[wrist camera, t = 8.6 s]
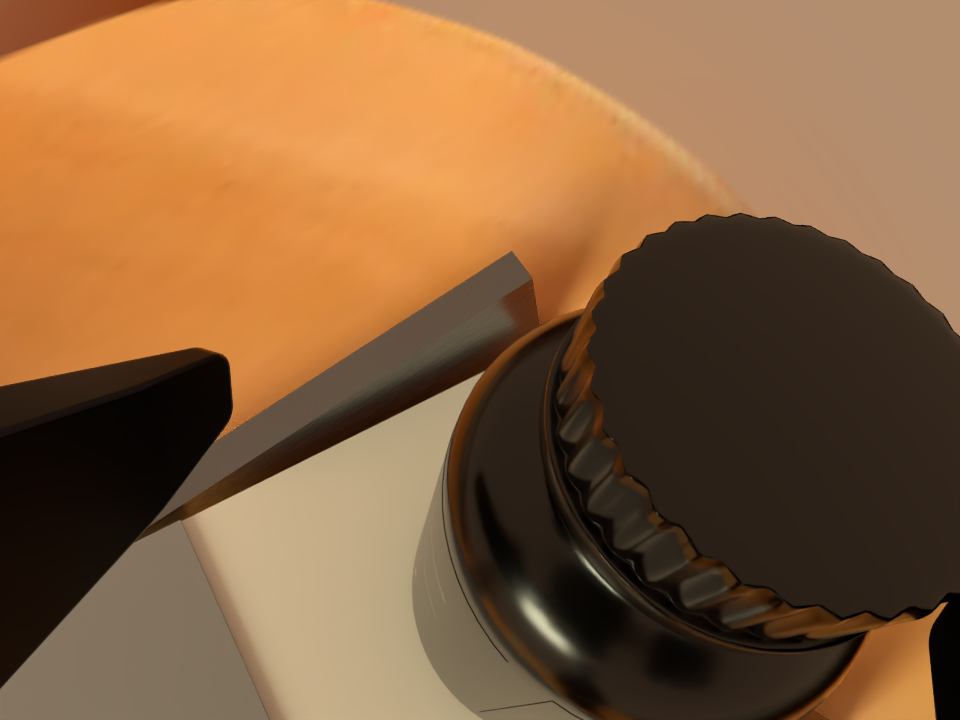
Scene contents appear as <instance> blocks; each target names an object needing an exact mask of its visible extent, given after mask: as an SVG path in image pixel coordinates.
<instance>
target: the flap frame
mask: <svg viewBox="0 0 960 720" xmlns="http://www.w3.org/2000/svg"><path fill="white" fill-rule="evenodd" d="M538 326H539V320H538V313H537V306H536V300H535V293H534V286H533V280H532V277H531V276H530V275H529V273H528V272H527V271H526V269H525V268H524V267H523V265H522V264H521V263H520V261H519V260H518V258H517V257H516V256H515V254H514V253H513V252H512V251H511V252H509V253H508V254H506V255H505V256H503V257H502V258H500V259H498V260H497V261H495V262H494V263H492V264H491V265H489V266H488V267H486V268H484V269H483V270H481V271H480V272H478V273H477V274H475V275H474V276H472V277H470V278H469V279H467V280H466V281H464V282H463V283H461V284H460V285H458V286H457V287H455V288H453V289H452V290H450V291H449V292H447V293H446V294H444V295H443V296H441V297H439V298H438V299H436V300H435V301H433V302H432V303H430V304H429V305H427V306H425V307H424V308H422V309H421V310H419V311H418V312H416V313H415V314H413V315H411V316H410V317H408V318H407V319H405V320H404V321H402V322H401V323H399V324H397V325H396V326H394V327H393V328H391V329H390V330H388V331H387V332H385V333H383V334H382V335H380V336H379V337H377V338H376V339H374V340H373V341H371V342H369V343H368V344H366V345H365V346H363V347H362V348H360V349H359V350H357V351H355V352H354V353H352V354H351V355H349V356H348V357H346V358H345V359H343V360H341V361H340V362H338V363H337V364H335V365H334V366H332V367H331V368H329V369H328V370H326V371H324V372H323V373H321V374H320V375H318V376H317V377H315V378H314V379H312V380H310V381H309V382H307V383H306V384H304V385H303V386H301V387H300V388H298V389H296V390H295V391H293V392H292V393H290V394H289V395H287V396H286V397H284V398H282V399H281V400H279V401H278V402H276V403H275V404H273V405H272V406H270V407H268V408H267V409H265V410H264V411H262V412H261V413H259V414H258V415H256V416H254V417H253V418H251V419H250V420H248V421H247V422H245V423H244V424H242V425H240V426H239V427H237V428H236V429H234V430H233V431H231V432H230V433H228V434H226V435H225V436H223V437H222V438H220V439H219V440H217V441H216V442H214V443H213V444H212V445H211V447H210V448H209V449H208V451H207V452H206V454H205V455H204V456H203V458H202V459H201V460H200V462H199V463H198V464H197V466H196V467H195V468H194V470H193V471H192V472H191V474H190V475H189V476H188V478H187V479H186V480H185V482H184V483H183V485H182V486H181V487H180V489H179V490H178V491H177V493H176V494H175V495H174V497H173V498H172V499H171V500H170V502H169V503H168V504H167V505H166V507H165V508H164V509H163V510H162V512H161V513H160V514H159V515H158V516H157V517H156V519H155V520H154V521H153V522H152V523H151V524H150V525H149V527H148V528H147V529H146V530H145V531H144V532H143V533H142V534H141V535H140V536H139V538H138V539H137V540H136V541H138V540H140V539H142V538H144V537H146V536H148V535H151V534H153V533H155V532H157V531H159V530H161V529H163V528H165V527H167V526H169V525H171V524H173V523H175V522H177V521H179V520H181V521H183V520H185V519H187V518H189V517H191V516H193V515H195V514H197V513H199V512H201V511H203V510H206V509H208V508H210V507H212V506H214V505H216V504H218V503H220V502H222V501H224V500H226V499H228V498H230V497H232V496H234V495H236V494H238V493H240V492H242V491H244V490H246V489H248V488H250V487H252V486H254V485H256V484H258V483H260V482H262V481H264V480H266V479H268V478H270V477H272V476H274V475H276V474H278V473H280V472H282V471H284V470H286V469H288V468H290V467H292V466H294V465H296V464H298V463H300V462H302V461H304V460H306V459H308V458H310V457H312V456H314V455H316V454H318V453H320V452H323V451H325V450H327V449H329V448H331V447H333V446H335V445H337V444H339V443H341V442H343V441H345V440H347V439H349V438H351V437H353V436H355V435H357V434H359V433H361V432H363V431H365V430H367V429H369V428H371V427H373V426H375V425H377V424H379V423H381V422H383V421H385V420H387V419H389V418H391V417H393V416H395V415H397V414H399V413H401V412H403V411H405V410H407V409H409V408H411V407H413V406H415V405H417V404H419V403H421V402H423V401H425V400H427V399H429V398H431V397H433V396H435V395H437V394H440V393H442V392H444V391H446V390H448V389H450V388H452V387H454V386H456V385H458V384H460V383H462V382H464V381H466V380H468V379H470V378H472V377H474V376H476V375H478V374H480V373H482V372H484V371H485V370H486V369H487V368H488V367H489V366H490V365H491V363H492V362H493V361H494V360H495V359H496V358H497V357H498V356H499V355H500V354H501V353H502V352H503V351H504V350H506V349H507V348H508V347H509V346H510V345H511V344H512V343H513V342H515V341H516V340H518V339H519V338H520V337H522V336H523V335H524V334H526V333H527V332H529V331H531V330H533V329H534V328H536V327H538ZM136 541H135V542H136ZM799 720H829V719H827V718H825V717H824V716H822V715H820V714H819V713H817V712H815V711H814V710H812V711H811V712H809V713H808V714H806V715H805V716H803V717H802V718H800V719H799Z"/></svg>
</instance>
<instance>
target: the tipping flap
mask: <svg viewBox="0 0 960 720" xmlns="http://www.w3.org/2000/svg"><path fill="white" fill-rule="evenodd" d="M484 372H485V371H484ZM484 372H482V373H480V374H478V375H476V376H474V377H472V378H470V379H468V380H466V381H464V382H462V383H460V384H458V385H456V386H454V387H452V388H450V389H448V390H446V391H444V392H442V393H440V394H437V395H435V396H433V397H431V398H429V399H427V400H425V401H423V402H421V403H419V404H417V405H415V406H413V407H411V408H409V409H407V410H405V411H403V412H401V413H399V414H397V415H395V416H393V417H391V418H389V419H387V420H385V421H383V422H381V423H379V424H377V425H375V426H373V427H371V428H369V429H367V430H365V431H363V432H361V433H359V434H357V435H355V436H353V437H351V438H349V439H347V440H345V441H343V442H341V443H339V444H337V445H335V446H333V447H331V448H329V449H327V450H325V451H323V452H320V453H318V454H316V455H314V456H312V457H310V458H308V459H306V460H304V461H302V462H300V463H298V464H296V465H294V466H292V467H290V468H288V469H286V470H284V471H282V472H280V473H278V474H276V475H274V476H272V477H270V478H268V479H266V480H264V481H262V482H260V483H258V484H256V485H254V486H252V487H250V488H248V489H246V490H244V491H242V492H240V493H238V494H236V495H234V496H232V497H230V498H228V499H226V500H224V501H222V502H220V503H218V504H216V505H214V506H212V507H210V508H208V509H206V510H203V511H201V512H199V513H197V514H195V515H193V516H191V517H189V518H187V519H185V520H183V521H181V520H179V521H177V522H175V523H173V524H171V525H169V526H167V527H165V528H163V529H161V530H159V531H157V532H155V533H153V534H151V535H148V536H146V537H144V538H142V539H140V540H138V541H136V542H134V543H133V544H132V545H131V546H130V547H129V548H128V550H127V551H126V552H125V553H124V554H123V555H122V556H121V557H120V558H119V559H118V561H117V562H116V563H115V564H114V565H113V566H112V567H111V568H110V569H109V570H108V572H107V573H106V574H105V575H104V576H103V577H102V578H101V579H100V580H99V581H98V583H97V584H96V585H95V586H94V587H93V588H92V589H91V590H90V591H89V592H88V594H87V595H86V596H85V597H84V598H83V599H82V600H81V601H80V602H79V603H78V605H77V606H76V607H75V608H74V609H73V610H72V611H71V612H70V613H69V614H68V615H67V617H66V618H65V619H64V620H63V621H62V622H61V623H60V624H59V625H58V626H57V628H56V629H55V630H54V631H53V632H52V633H51V634H50V635H49V636H48V637H47V639H46V640H45V641H44V642H43V643H42V644H41V645H40V646H39V647H38V648H37V650H36V651H35V652H34V653H33V654H32V655H31V656H30V657H29V658H28V659H27V661H26V662H25V663H24V664H23V665H22V666H21V667H20V668H19V669H18V670H17V672H16V673H15V674H14V675H13V676H12V677H11V678H10V679H9V680H8V681H7V683H6V684H5V685H4V686H3V687H2V688H1V689H0V720H483V719H481V718H480V717H478V716H477V715H475V714H474V713H473V712H471V711H470V710H469V709H468V708H466V707H465V706H464V705H463V704H462V703H461V702H459V700H458V699H457V698H456V697H455V696H454V695H453V694H452V693H451V692H450V691H449V690H448V688H447V687H446V686H445V685H444V683H443V682H442V681H441V679H440V678H439V676H438V675H437V673H436V672H435V670H434V668H433V667H432V665H431V663H430V661H429V659H428V657H427V655H426V653H425V651H424V648H423V645H422V643H421V640H420V637H419V634H418V630H417V627H416V622H415V617H414V611H413V601H412V577H413V567H414V562H415V557H416V552H417V547H418V543H419V540H420V537H421V533H422V530H423V527H424V523H425V520H426V517H427V514H428V510H429V507H430V504H431V500H432V497H433V494H434V491H435V487H436V484H437V481H438V477H439V474H440V471H441V467H442V464H443V461H444V458H445V454H446V451H447V448H448V444H449V441H450V438H451V435H452V432H453V429H454V427H455V424H456V422H457V420H458V417H459V415H460V413H461V410H462V408H463V406H464V404H465V402H466V400H467V398H468V396H469V395H470V393H471V391H472V389H473V387H474V386H475V384H476V383H477V381H478V380H479V379H480V377H481V376H482V374H483V373H484Z"/></svg>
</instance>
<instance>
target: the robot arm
mask: <svg viewBox="0 0 960 720" xmlns="http://www.w3.org/2000/svg"><path fill="white" fill-rule="evenodd" d="M232 410H233V400H232V388H231V375H230V365H229V362H228V360H227V358H226V357H225V356H224V355H223V354H220V353H217V352H213V351H210V350H206V349H203V348H190V349H185V350H180V351H175V352H170V353H165V354H160V355H155V356H150V357H145V358H140V359H135V360H130V361H125V362H120V363H115V364H110V365H105V366H100V367H95V368H90V369H85V370H80V371H75V372H70V373H65V374H60V375H55V376H50V377H45V378H40V379H35V380H30V381H25V382H20V383H15V384H10V385H5V386H0V689H1V688H2V687H3V686H4V685H5V684H6V683H7V681H8V680H9V679H10V678H11V677H12V676H13V675H14V674H15V673H16V672H17V670H18V669H19V668H20V667H21V666H22V665H23V664H24V663H25V662H26V661H27V659H28V658H29V657H30V656H31V655H32V654H33V653H34V652H35V651H36V650H37V648H38V647H39V646H40V645H41V644H42V643H43V642H44V641H45V640H46V639H47V637H48V636H49V635H50V634H51V633H52V632H53V631H54V630H55V629H56V628H57V626H58V625H59V624H60V623H61V622H62V621H63V620H64V619H65V618H66V617H67V615H68V614H69V613H70V612H71V611H72V610H73V609H74V608H75V607H76V606H77V605H78V603H79V602H80V601H81V600H82V599H83V598H84V597H85V596H86V595H87V594H88V592H89V591H90V590H91V589H92V588H93V587H94V586H95V585H96V584H97V583H98V581H99V580H100V579H101V578H102V577H103V576H104V575H105V574H106V573H107V572H108V570H109V569H110V568H111V567H112V566H113V565H114V564H115V563H116V562H117V561H118V559H119V558H120V557H121V556H122V555H123V554H124V553H125V552H126V551H127V550H128V548H129V547H130V546H131V545H132V544H133V543H134V542H135V541H136V540H137V539H138V538H139V536H140V535H141V534H142V533H143V532H144V531H145V530H146V529H147V528H148V527H149V525H150V524H151V523H152V522H153V521H154V520H155V519H156V517H157V516H158V515H159V514H160V513H161V512H162V510H163V509H164V508H165V507H166V505H167V504H168V503H169V502H170V500H171V499H172V498H173V497H174V495H175V494H176V493H177V491H178V490H179V489H180V487H181V486H182V485H183V483H184V482H185V480H186V479H187V478H188V476H189V475H190V474H191V472H192V471H193V470H194V468H195V467H196V466H197V464H198V463H199V462H200V460H201V459H202V458H203V456H204V455H205V454H206V452H207V451H208V449H209V448H210V447H211V445H212V444H213V443H214V441H215V440H216V439H217V437H218V436H219V435H220V433H221V432H222V431H223V429H224V428H225V427H226V425H227V423H228V422H229V420H230V418H231V414H232ZM929 653H930V664H931V674H932V685H933V695H934V705H935V716H936V720H960V598H958V599H956V600H953V601H949V602H948V603H947V604H946V606H945V607H944V609H943V610H942V612H941V613H940V615H939V616H938V617H937V619H936V620H935V622H934V624H933V626H932V629H931V632H930V636H929Z"/></svg>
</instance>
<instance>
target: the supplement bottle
mask: <svg viewBox="0 0 960 720" xmlns="http://www.w3.org/2000/svg"><path fill="white" fill-rule="evenodd" d="M958 598H960V336H959V335H958V334H957V333H955V332H954V331H953V329H952V327H951V326H950V324H949V322H948V321H947V319H946V317H945V316H944V314H943V313H942V312H941V311H939V310H938V309H936V308H935V307H934V306H932V305H931V304H930V303H928V302H927V301H925V299H924V298H923V297H922V296H921V294H920V293H919V292H918V290H917V289H916V288H915V287H914V285H912V284H911V283H909V282H907V281H905V280H904V279H902V278H900V277H898V276H896V275H894V273H893V272H892V271H890V269H889V268H888V267H887V266H886V265H885V264H884V263H883V262H882V261H880V260H878V259H876V258H873V257H871V256H868V255H866V254H863V253H861V252H860V251H859V250H858V249H856V248H855V247H854V246H853V245H851V244H850V243H849V242H848V241H846V240H842V239H839V238H834V237H830V236H827V235H826V234H824V233H822V232H821V231H819V230H817V229H816V228H814V227H812V226H807V225H794V224H791V223H789V222H787V221H785V220H782V219H780V218H777V217H767V218H757V217H754V216H751V215H747V214H743V213H738V214H733V215H731V216H728V217H723V216H717V215H708V214H707V215H704V216H702V217H700V218H699V219H697V220H696V221H679V222H674V223H673V224H672V225H671V226H670V227H669V228H668V229H667V230H666V231H665V232H659V233H654V234H649V235H646V236H645V237H644V238H643V239H642V241H641V242H640V243H639V245H638V246H637V248H636V249H634V250H632V251H629V252H627V253H625V254H623V255H622V256H621V257H620V258H619V259H618V260H617V261H616V263H615V264H614V266H613V268H612V269H611V271H610V273H609V275H608V277H607V278H606V279H605V280H603V281H602V282H601V283H600V284H599V286H598V287H597V288H596V290H595V291H594V293H593V295H592V297H591V299H590V301H589V302H588V304H587V306H586V308H584V309H580V310H577V311H574V312H570V313H567V314H564V315H561V316H559V317H557V318H554V319H552V320H550V321H548V322H545V323H543V324H541V325H540V326H538V327H536V328H534V329H533V330H531V331H529V332H527V333H526V334H524V335H523V336H522V337H520V338H519V339H518V340H516V341H515V342H513V343H512V344H511V345H510V346H509V347H508V348H507V349H506V350H504V351H503V352H502V353H501V354H500V355H499V356H498V357H497V358H496V359H495V360H494V361H493V362H492V363H491V365H490V366H489V367H488V368H487V369H486V370H485V372H484V373H483V374H482V376H481V377H480V379H479V380H478V381H477V383H476V384H475V386H474V387H473V389H472V391H471V393H470V395H469V396H468V398H467V400H466V402H465V404H464V406H463V408H462V410H461V413H460V415H459V417H458V420H457V422H456V424H455V427H454V429H453V432H452V435H451V438H450V441H449V444H448V448H447V451H446V454H445V458H444V461H443V464H442V467H441V471H440V474H439V477H438V481H437V484H436V487H435V491H434V494H433V497H432V500H431V504H430V507H429V510H428V514H427V517H426V520H425V523H424V527H423V530H422V533H421V537H420V540H419V543H418V547H417V552H416V557H415V562H414V567H413V577H412V601H413V611H414V617H415V622H416V627H417V630H418V634H419V637H420V640H421V643H422V645H423V648H424V651H425V653H426V655H427V657H428V659H429V661H430V663H431V665H432V667H433V668H434V670H435V672H436V673H437V675H438V676H439V678H440V679H441V681H442V682H443V683H444V685H445V686H446V687H447V688H448V690H449V691H450V692H451V693H452V694H453V695H454V696H455V697H456V698H457V699H458V700H459V702H461V703H462V704H463V705H464V706H465V707H466V708H468V709H469V710H470V711H471V712H473V713H474V714H475V715H477V716H478V717H480V718H481V719H483V720H799V719H800V718H802V717H803V716H805V715H806V714H808V713H809V712H811V711H812V710H813V709H815V708H816V707H817V706H818V705H819V704H820V703H822V702H823V701H824V700H825V699H826V698H827V697H828V696H829V695H830V694H831V693H832V692H833V691H834V690H835V688H836V687H837V686H838V685H839V684H840V683H841V682H842V681H843V679H844V678H845V677H846V675H847V674H848V672H849V671H850V669H851V668H852V666H853V665H854V663H855V662H856V660H857V659H858V657H859V655H860V653H861V651H862V649H863V647H864V645H865V643H866V641H867V639H868V637H869V634H870V632H871V630H873V629H877V628H880V627H884V626H889V625H894V624H899V623H904V622H909V621H914V620H918V619H921V618H923V617H925V616H927V615H929V614H931V613H932V612H933V611H934V610H935V609H936V608H937V607H938V606H939V605H940V604H941V603H945V602H949V601H953V600H956V599H958Z"/></svg>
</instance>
